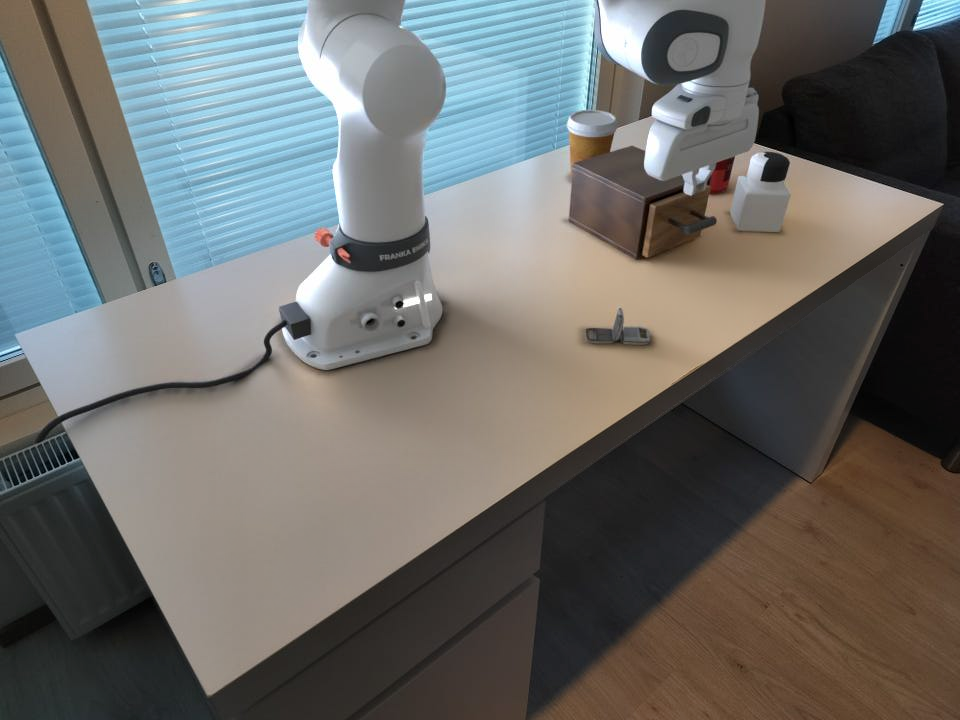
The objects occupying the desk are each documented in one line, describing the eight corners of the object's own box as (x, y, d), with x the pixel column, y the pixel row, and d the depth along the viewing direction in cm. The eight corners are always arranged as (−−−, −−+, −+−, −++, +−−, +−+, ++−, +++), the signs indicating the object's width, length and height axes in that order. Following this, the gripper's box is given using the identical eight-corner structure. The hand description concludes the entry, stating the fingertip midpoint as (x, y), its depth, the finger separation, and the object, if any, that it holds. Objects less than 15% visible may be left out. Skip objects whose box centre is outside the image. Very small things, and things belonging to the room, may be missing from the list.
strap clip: (647, 332, 94) (652, 306, 91) (650, 345, 91) (655, 319, 89) (585, 330, 94) (588, 304, 92) (586, 343, 92) (589, 317, 89)
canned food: (677, 181, 133) (687, 125, 126) (713, 176, 135) (724, 120, 128) (698, 197, 127) (710, 139, 120) (735, 191, 129) (749, 134, 122)
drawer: (723, 247, 110) (735, 196, 105) (669, 270, 105) (679, 218, 99) (633, 203, 123) (640, 155, 118) (582, 221, 118) (586, 172, 112)
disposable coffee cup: (619, 175, 135) (626, 114, 128) (599, 192, 129) (606, 129, 122) (575, 165, 139) (580, 105, 132) (554, 182, 133) (558, 120, 126)
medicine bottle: (770, 214, 121) (788, 148, 114) (780, 233, 116) (800, 165, 108) (729, 212, 122) (744, 147, 115) (736, 231, 116) (753, 163, 109)
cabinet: (694, 236, 115) (706, 176, 109) (636, 259, 109) (645, 198, 103) (624, 201, 126) (632, 145, 119) (568, 221, 120) (573, 163, 113)
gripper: (742, 79, 102) (722, 168, 110) (643, 107, 93) (631, 202, 101) (778, 90, 97) (755, 182, 106) (678, 120, 88) (662, 217, 97)
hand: (693, 192), depth 104 cm, fingers closed
